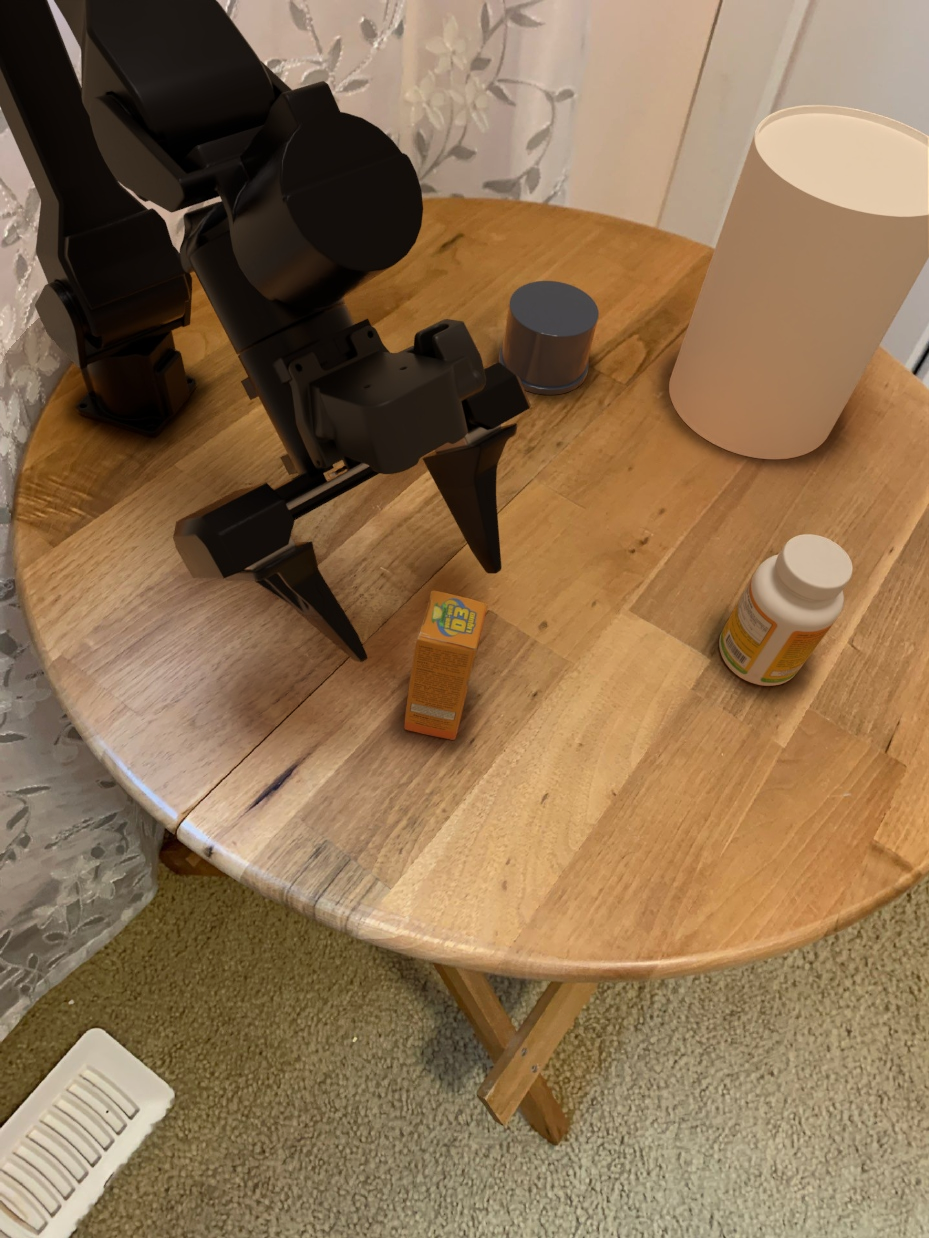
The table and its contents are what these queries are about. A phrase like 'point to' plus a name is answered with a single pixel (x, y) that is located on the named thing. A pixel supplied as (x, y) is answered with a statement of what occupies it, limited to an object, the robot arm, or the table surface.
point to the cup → (549, 336)
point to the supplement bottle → (786, 610)
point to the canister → (803, 278)
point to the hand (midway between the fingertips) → (430, 614)
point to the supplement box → (443, 664)
